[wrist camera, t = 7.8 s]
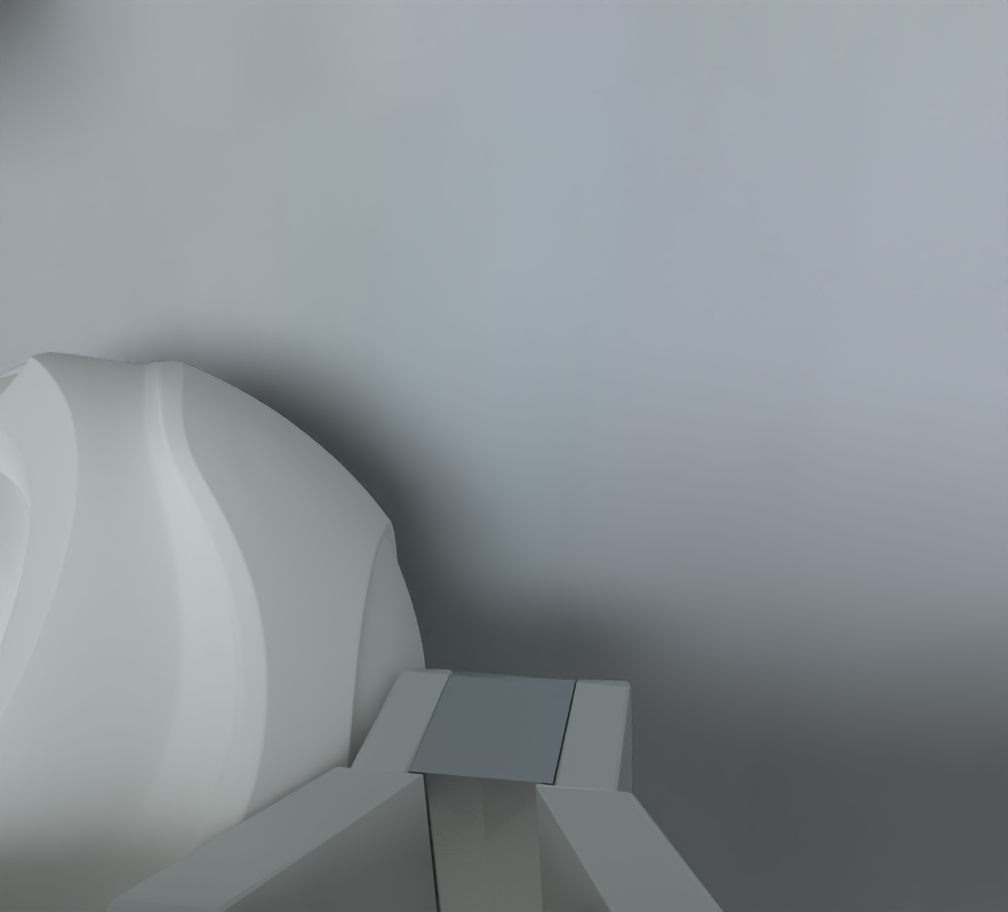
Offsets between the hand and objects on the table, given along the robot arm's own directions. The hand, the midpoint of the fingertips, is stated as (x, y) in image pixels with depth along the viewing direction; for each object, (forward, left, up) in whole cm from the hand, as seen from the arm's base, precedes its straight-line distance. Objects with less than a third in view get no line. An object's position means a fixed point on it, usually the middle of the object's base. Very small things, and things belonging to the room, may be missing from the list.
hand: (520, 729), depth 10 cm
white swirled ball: (+5, 0, -4) cm, 6 cm away
